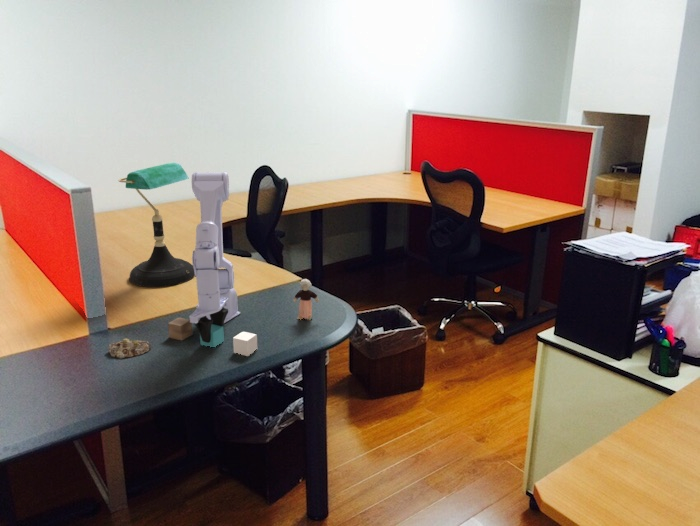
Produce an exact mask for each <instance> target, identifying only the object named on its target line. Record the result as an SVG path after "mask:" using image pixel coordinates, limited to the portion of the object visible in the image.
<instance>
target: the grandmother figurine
mask: <svg viewBox="0 0 700 526" xmlns="http://www.w3.org/2000/svg"><path fill="white" fill-rule="evenodd" d="M299 285H300V288H301V289H300V290H299V291H298V292H296V294H295V295H294V298H293V300H292V302H293V303H297V301H298V299H299V304H298V316H297V318H296V319H300V320H299V321H302V320H301V319H303V318H304V319H305V320H306V319H311V317H312V314H313V313H312V311H313V304H312V299H314V301H315V303H319V302H320V300H319V297H318V294H316V293H315V292H314V291H313V290H310V288H311V287H312V283H311V281H310V280H309V279H307V278H303V279H301V281H300V283H299ZM311 298H312V299H311ZM304 319H303V320H304Z"/></svg>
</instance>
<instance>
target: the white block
mask: <svg viewBox="0 0 700 526" xmlns="http://www.w3.org/2000/svg"><path fill="white" fill-rule="evenodd" d="M232 346H233V353H234V354H236V353H238V354H237V355H240V354H241V356H246V357H250V354H251V355H252V354H253V353H255V352H256V351H257V350H258V335H257V333H256V334H255V333H252V332H248V331H241V332H240V333H238V334H237V335H235V336H233V337H232ZM256 349H257V350H256ZM255 350H256V351H255ZM254 351H255V352H254Z"/></svg>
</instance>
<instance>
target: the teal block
mask: <svg viewBox="0 0 700 526" xmlns="http://www.w3.org/2000/svg"><path fill="white" fill-rule="evenodd" d="M224 331H225V330H224V326H223V327H222V326H218V325H213V324H212V325H211V339H210V342H209V343H207V342H203V341H202V338H201V335H200V334H199V340H200V346H203V345H205V346H204V347H207V346H210V347H209V348H211V347H215V348H216V346H217V345H218V346H220V345H221V344H223V343H224V342H225V333H224ZM223 341H224V342H223ZM222 342H223V343H222ZM219 344H220V345H219ZM218 346H217V347H218Z"/></svg>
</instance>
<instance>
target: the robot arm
mask: <svg viewBox="0 0 700 526" xmlns="http://www.w3.org/2000/svg"><path fill="white" fill-rule="evenodd" d="M191 188H192V192H193V195H194V196H195V198H196V200H197V201H198V202H199V203H200V207H199V208H200V221H201V222H200V223H198V224H197V225H196V226H195V227H196V229H195V246H194V247H195V249H194V250H192V256H191V257H192V258H191V261H192V263H191V264H192V265H193V268H194V272H195V276H194V277H196V278H195V280H196V290H197V302H198V303H197V304H196V305H195V310H194V311H193V313H191V314H190V315H189V320H190V323H192V324H194V326H195V328H196V329H197V330H198V333H199V336H200V335H201V338H202V341H203V342H207V343H209V342H210V339H211V325H212V324H213V325H218V326H222V327H223V328H224V325H225V323H227V322H229V321H231V320H232V319H234V318H235V317H237V316H239V315H240V314H241V311H239V307H238V294H237V290H236V289H235V288H234V287H235V271H234V265H233V263H232V262H231V261H230V260H228V259H227V258H225V257H224V243H223V242H224V241H223V218H222V217H223V216H222V215H223V212H222V210H223V209H222V207H223V203H224V202H226V201H228V200H229V197H230V182H229V174H228V172H227V171H221V172H220V171H214V172H209V171H207V172H197V171H194V172H193V173H192V174H191Z"/></svg>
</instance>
